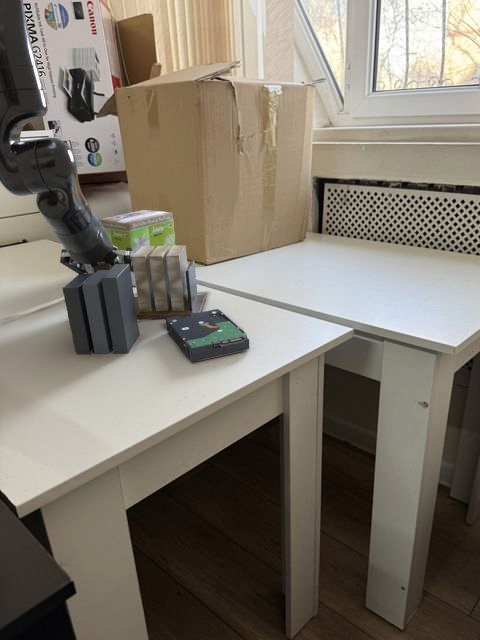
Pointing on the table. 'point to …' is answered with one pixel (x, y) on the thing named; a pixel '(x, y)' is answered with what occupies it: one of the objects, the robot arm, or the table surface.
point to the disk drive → (207, 335)
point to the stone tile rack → (165, 283)
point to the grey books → (102, 311)
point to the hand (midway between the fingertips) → (112, 279)
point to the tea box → (140, 231)
